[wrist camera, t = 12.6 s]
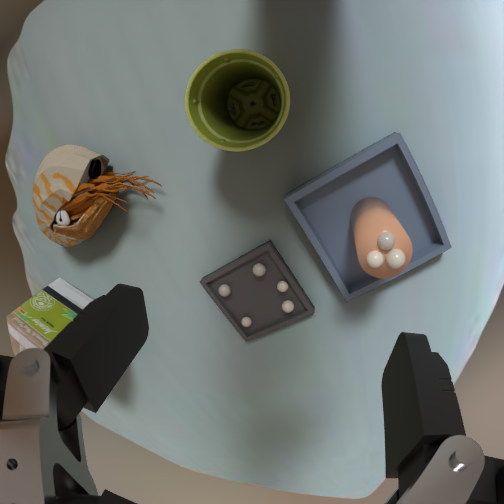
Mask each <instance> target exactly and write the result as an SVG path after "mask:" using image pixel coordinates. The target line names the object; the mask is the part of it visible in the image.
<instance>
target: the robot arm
mask: <svg viewBox="0 0 504 504" xmlns="http://www.w3.org/2000/svg"><path fill="white" fill-rule="evenodd" d="M148 331H149V325H148V319H147V313H146V307H145V301H144V295H143V291H142V290H141V289H140V288H138V287H133V286H129V285H124V284H117V285H116V286H115V287H114V288H113V289H112V290H111V291H110V292H109V293H108V294H107V295H103V296H101V297H99V298H97V299H95V300H93V301H91V302H90V303H89V304H88V305H87V306H86V307H85V308H84V309H83V310H82V311H81V313H80V314H78V315H77V316H76V317H75V318H74V319H73V321H71V322H70V323H69V324H68V325H67V326H66V327H65V328H64V329H63V330H62V331H61V332H60V333H59V334H58V335H57V336H56V337H55V338H54V339H53V340H52V341H51V342H50V343H49V344H48V345H47V346H46V347H45V348H44V349H40V348H29V349H25V350H23V351H21V352H19V353H18V354H17V355H16V356H15V357H9V356H3V355H0V504H137V503H134V502H132V501H130V500H127V499H125V498H123V497H121V496H118V495H116V494H114V493H112V492H110V491H108V490H104V492H103V494H102V496H98V492H97V489H96V485H95V483H94V480H93V478H92V476H91V474H90V472H89V469H88V466H87V460H86V454H85V447H84V440H83V431H82V422H81V416H80V414H79V413H80V411H81V410H82V409H83V407H84V408H86V409H88V410H90V411H92V412H94V413H96V412H97V411H98V409H99V408H100V406H101V405H102V404H103V402H104V401H105V399H106V398H107V396H108V395H109V393H110V392H111V390H112V389H113V387H114V386H115V385H116V383H117V382H118V380H119V379H120V377H121V376H122V375H123V373H124V372H125V370H126V369H127V367H128V366H129V365H130V363H131V362H132V360H133V359H134V357H135V356H136V355H137V353H138V352H139V350H140V349H141V348H142V346H143V345H144V343H145V342H146V339H147V336H148ZM382 398H383V412H384V429H385V458H386V478H398V479H399V487H398V488H397V489H396V490H395V491H394V492H393V493H392V495H391V496H390V497H389V498H388V499H387V501H386V502H385V503H384V504H504V460H502V459H497V458H493V457H488V456H485V455H484V453H483V450H482V448H481V447H480V445H479V444H478V443H477V442H476V441H475V440H473V439H472V438H470V437H467V436H466V434H465V430H464V425H463V421H462V416H461V412H460V409H459V404H458V400H457V397H456V393H454V386H453V382H452V381H451V375H450V372H449V369H448V365H447V364H446V363H445V361H444V360H443V359H442V357H441V356H440V355H439V353H436V352H431V349H430V346H429V342H428V339H427V337H426V335H424V334H415V333H405V332H402V333H401V334H400V335H399V337H398V339H397V341H396V344H395V346H394V348H393V351H392V353H391V355H390V358H389V360H388V362H387V365H386V367H385V369H384V373H383V377H382Z"/></svg>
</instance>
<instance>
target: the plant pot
mask: <svg viewBox="0 0 504 504" xmlns="http://www.w3.org/2000/svg"><path fill="white" fill-rule="evenodd" d="M247 83H254V85H251V86H246V87H243V85H244V84H247ZM271 94H273V95H274V96H275V100H276V105H275V106H274V105H273V100H272V97H271ZM251 102H254V103H255V105H254V106H251V105H250V103H251ZM232 103H234V108H235V113H236V114H234V113H233V111H232V109H231V104H232ZM289 109H290V91H289V87H288V84H287V81H286V79H285V77H284V75H283V74H282V72H281V70H280V69H279V68H278V67H277V66H276V65H275V64H274V63H273V62H272V61H271V60H270V59H268V58H267V57H265V56H263V55H262V54H259V53H257V52H254V51H251V50H245V49H233V50H227V51H223V52H220V53H217V54H215V55H213V56H211V57H210V58H208V59H207V60H205V61H204V62H203V63H202V64H201V65H200V66H199V67H198V68H197V69H196V70H195V72H194V73H193V75H192V77H191V78H190V80H189V83H188V85H187V88H186V93H185V110H186V114H187V117H188V120H189V122H190V124H191V126H192V128H193V129H194V130H195V132H196V133H197V134H198V135H199V137H201V138H202V139H203V140H204V141H205V142H207V143H208V144H210V145H212V146H214V147H216V148H219V149H222V150H226V151H233V152H239V151H247V150H251V149H255V148H257V147H259V146H262V145H263V144H265V143H267V142H268V141H270V140H271V139H272V138H273V137H274V136H275V135H276V134H277V133H278V132H279V131H280V129H281V128H282V126H283V125H284V123H285V121H286V119H287V116H288V113H289ZM261 121H264V123H263V124H259V125H258V126H253V125H252V123H258V122H261Z"/></svg>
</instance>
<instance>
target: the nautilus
mask: <svg viewBox="0 0 504 504" xmlns="http://www.w3.org/2000/svg"><path fill="white" fill-rule="evenodd" d="M108 163H109V159H108V158H106V157H105V156H104V155H102V154H99V153H96V152H93V151H90V150H88V149H87V148H85V147H81V146H75V145H70V144H69V145H65V146H61V147H58V148H56V149H54V150H53V151H51V152H50V153H48V154H47V155H46V157H45V158H44V159H43V161H42V163H41V165H40V167H39V169H38V171H37V173H36V176H35V180H34V186H33V203H34V208H35V213H36V218H37V222H38V225H39V229H40V230H41V231H42V232H43V233H44V234H45V235H46V236H47V237H48V238H49V239H50V240H52V241H54V242H55V243H57V244H60V245H62V246H66V247H72V246H76V245H78V244H80V243H81V242H82V241H83V240H87V239H89V238H91V237H92V236H93V234H94V233H95V232H96V230H97V229H98V228H99V226H100V225H101V224H102V222H103V221H104V219H105V217H106V216H107V214H108V213H109V211H110V209H111V207H112V206H113V204H116V205H118V206H119V207H120V208H121V209H123V210H125V209H124V208H122V207H121V206H120V205H119V204H117V203H115V200H116V199H119V200H121V199H120V198H117V197H116V192H118V190H123V189H124V190H125V192H126V189H128V188H124V186H127V187H130V188H133V189H136V190H139V191H141V192H142V193H143V194H144V195H145V193H146V194H148V195H150V196H152V195H151V194H149V192H148V191H147V190H145V189H142V188H140V187H138V186H137V185H136V184H135V183H138V184H140V185H142V186H144V187H145V188H147V189H149V188H148V187H146V186H145V185H144V184H142V183H139V182H137V181H135V180H138V179H142V180H147V181H151V182H154V183H156V184H159V183H157V182H155V181H153V180H149V179H145V177H149V176H145V177H136V176H134V177H129V178H128V177H127V176H120V177H116V176H111V175H114V174H120V173H113V172H106V169H107V166H108ZM134 172H136V171H134ZM130 173H132V172H130ZM128 174H129V173H128ZM121 175H125V174H121ZM128 176H130V175H128ZM132 178H137V179H132ZM124 180H126V181H130V182H131V183H132V184H133V185H135V186H132V185H128V184H124V183H121V182H122V181H124ZM132 181H133V182H135V183H133V182H132ZM118 185H119V186H118ZM159 185H160V184H159ZM160 186H161V185H160ZM120 187H123V188H121V189H117V188H120ZM161 187H162V186H161ZM116 189H117V190H116ZM149 190H150V191H152V190H151V189H149ZM147 192H148V193H147ZM152 192H153V191H152ZM153 193H154V192H153ZM145 196H146V195H145ZM152 197H153V198H154V199H156V198H155V197H154V196H152ZM146 198H147V196H146ZM121 201H123V202H126V201H124V200H121ZM126 203H127V202H126ZM127 204H128V203H127ZM125 211H126V210H125ZM126 212H127V211H126ZM127 213H128V212H127Z"/></svg>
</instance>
